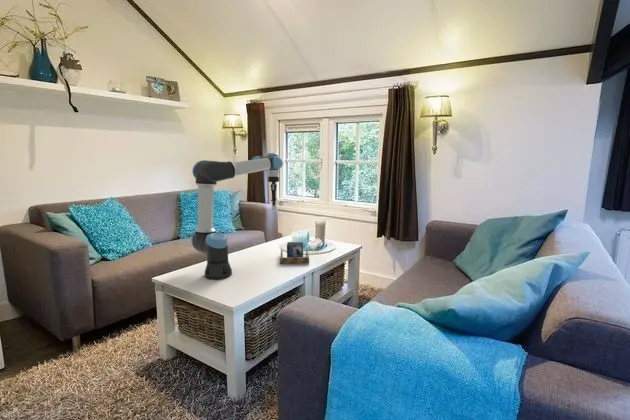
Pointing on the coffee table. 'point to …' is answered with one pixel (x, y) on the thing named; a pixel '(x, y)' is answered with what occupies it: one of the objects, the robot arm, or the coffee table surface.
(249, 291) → the coffee table surface
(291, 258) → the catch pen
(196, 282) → the coffee table surface
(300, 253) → the small box
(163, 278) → the coffee table surface
